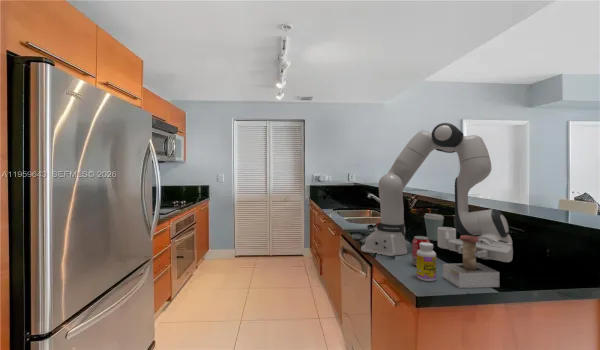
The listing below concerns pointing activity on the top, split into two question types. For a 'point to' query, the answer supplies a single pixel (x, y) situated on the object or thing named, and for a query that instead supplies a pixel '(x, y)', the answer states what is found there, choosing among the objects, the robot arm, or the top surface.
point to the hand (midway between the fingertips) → (468, 253)
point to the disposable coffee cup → (433, 225)
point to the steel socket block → (471, 276)
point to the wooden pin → (469, 252)
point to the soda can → (416, 246)
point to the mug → (445, 236)
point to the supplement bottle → (426, 262)
